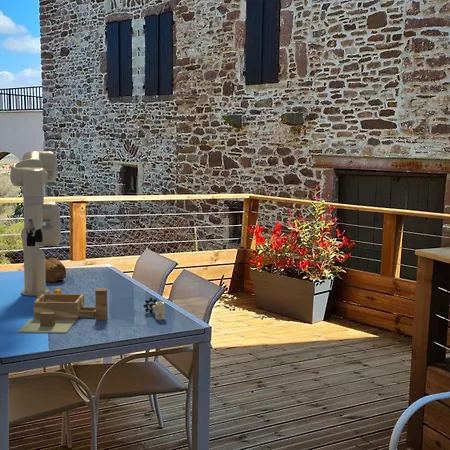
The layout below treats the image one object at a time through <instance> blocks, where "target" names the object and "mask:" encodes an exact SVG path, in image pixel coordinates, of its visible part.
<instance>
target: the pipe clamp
mask: <svg viewBox="0 0 450 450" xmlns="http://www.w3.org/2000/svg"><path fill="white" fill-rule="evenodd" d="M53 294H63V292H62V289H57V288H56V289H53ZM41 295H42V294H39V295H37V296H36V300H37V299H38V298H39V297H40V296H41Z"/></svg>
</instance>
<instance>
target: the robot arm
mask: <svg viewBox="0 0 450 450" xmlns="http://www.w3.org/2000/svg"><path fill="white" fill-rule="evenodd" d="M9 173H10V175H9V178H10V179H9V180H10V182H11V184H12V186H13V187H18V188H19V187H20V188H21V191H22V195H23V197H22V198H23V199H22V201H23V227H22V229H21V231H20V232H21V233H20V236H21V237H20V239H21V243H22V251H23V271H24V272H23V276H24V277H23V279H24V282H23V283H24V288H23V289H22V290H21V291H20V294H21V295H22V296H26V297H28V296H29V297H37V295H39V294H50V289H49V288H47V283H46V282H47V281H46V267H45V259H46V255H45V253H44V251H43V250H42V249H41V248H40V247H51V246H52V247H53V246H58V245H60V243H61V239H62V238H61V237H62V236H61V235H62V234H61V233H62V232H61V229H62V228H61V212H60V211H61V210H60V207H59V204H58V203H56V202H54V201H45V196H44V186H45V185H46V184H47V183H52V182H55V181H56V179H57V175H58V174H57V173H58V159H57V156H56V154H55V153H54V152H53V151H47V150H46V151H45V150H44V151H43V150H37V151H36V150H33V151H32V150H31V151H28V152H26V153H24V154H23V155H22V158H21V160H19V161H18V162H15V163H13V164H12V165H11V168H10V172H9ZM43 223H49V225H45V224H43Z"/></svg>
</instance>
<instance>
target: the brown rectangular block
mask: <svg viewBox="0 0 450 450" xmlns="http://www.w3.org/2000/svg"><path fill="white" fill-rule="evenodd" d="M94 295H95V307H96V317H95V321H106V320H107V319H108V288H96V290H95V294H94Z"/></svg>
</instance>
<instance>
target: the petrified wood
mask: <svg viewBox="0 0 450 450" xmlns="http://www.w3.org/2000/svg"><path fill="white" fill-rule="evenodd" d="M45 267H46V282H50V283H55V282H59V281H62V280H65V279H66V278H67V269H66V266H65V265H64V264H63V263H62V262H61V260H59V259H58V258H55V257H51V258H48V259H47V258H45Z"/></svg>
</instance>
